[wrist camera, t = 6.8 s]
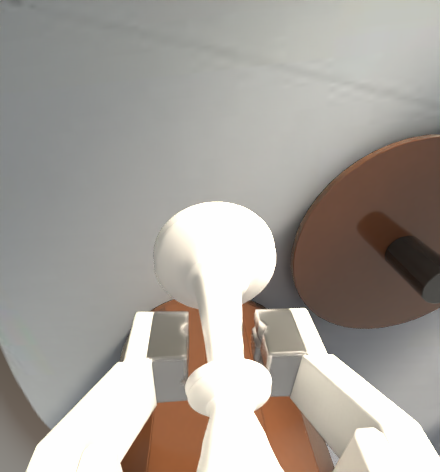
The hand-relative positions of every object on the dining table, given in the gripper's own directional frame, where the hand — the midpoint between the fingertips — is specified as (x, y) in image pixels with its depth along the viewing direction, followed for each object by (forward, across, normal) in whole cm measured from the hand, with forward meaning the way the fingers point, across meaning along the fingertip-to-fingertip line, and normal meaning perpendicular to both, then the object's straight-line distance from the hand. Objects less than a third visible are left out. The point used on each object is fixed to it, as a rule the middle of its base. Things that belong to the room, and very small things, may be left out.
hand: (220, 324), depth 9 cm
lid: (+10, -14, +4) cm, 18 cm away
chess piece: (+4, 0, 0) cm, 4 cm away
